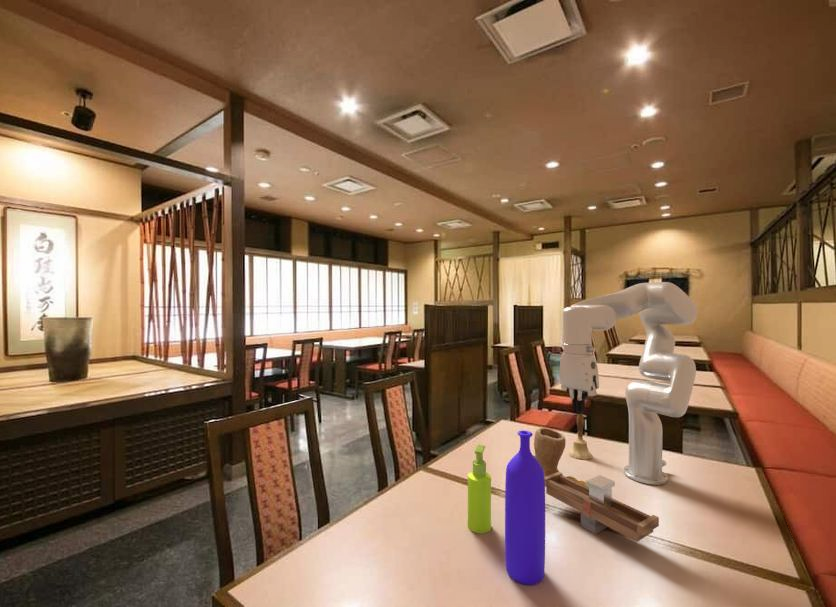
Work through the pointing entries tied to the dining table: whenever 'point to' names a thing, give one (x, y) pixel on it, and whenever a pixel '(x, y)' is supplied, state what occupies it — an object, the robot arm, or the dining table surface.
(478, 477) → the soap dispenser
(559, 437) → the stone cup
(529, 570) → the bottle
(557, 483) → the beam
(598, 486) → the rider
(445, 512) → the dining table surface
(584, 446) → the hand bell
